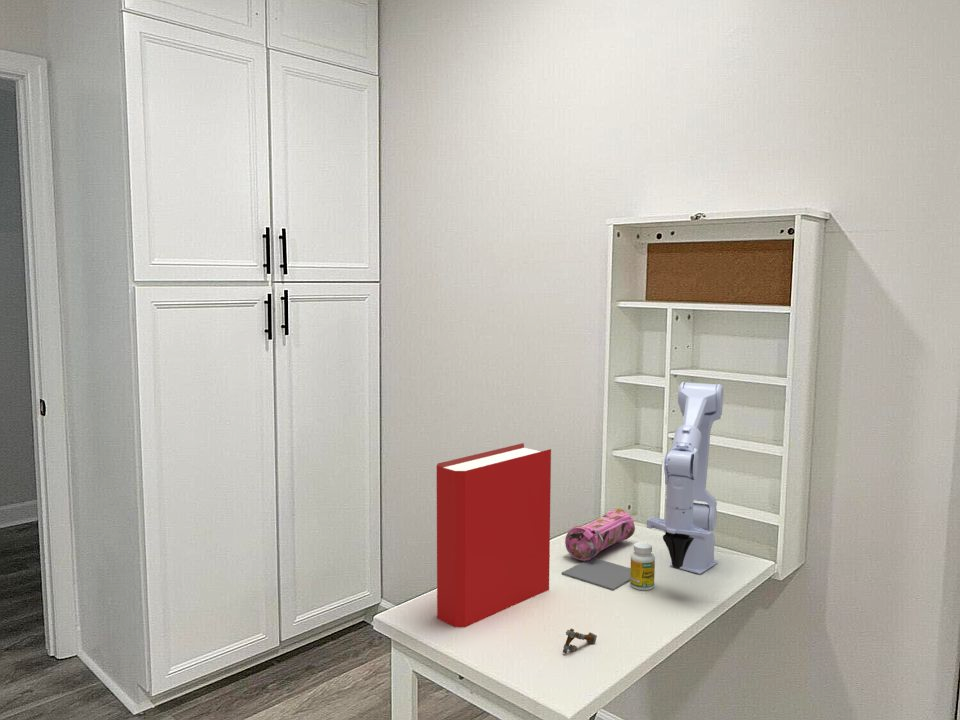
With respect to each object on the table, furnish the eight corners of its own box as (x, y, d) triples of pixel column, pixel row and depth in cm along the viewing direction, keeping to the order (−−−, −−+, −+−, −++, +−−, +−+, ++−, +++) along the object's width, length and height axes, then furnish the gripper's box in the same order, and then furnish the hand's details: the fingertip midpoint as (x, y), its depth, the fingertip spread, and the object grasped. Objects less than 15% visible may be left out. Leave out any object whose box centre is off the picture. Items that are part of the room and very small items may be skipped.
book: (522, 579, 182) (523, 443, 178) (549, 589, 177) (551, 448, 173) (433, 616, 163) (432, 464, 159) (460, 629, 158) (460, 472, 154)
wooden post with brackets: (557, 650, 147) (564, 626, 148) (583, 654, 153) (590, 631, 153) (564, 654, 146) (571, 629, 147) (590, 658, 151) (597, 634, 152)
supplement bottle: (642, 579, 182) (643, 539, 181) (659, 587, 178) (660, 546, 177) (624, 584, 179) (625, 543, 178) (641, 593, 175) (643, 551, 174)
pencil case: (595, 566, 189) (596, 530, 188) (562, 557, 194) (563, 522, 194) (637, 543, 206) (638, 510, 205) (605, 536, 211) (606, 503, 210)
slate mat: (592, 558, 195) (592, 557, 195) (642, 573, 186) (642, 571, 186) (561, 574, 185) (561, 572, 185) (613, 590, 176) (613, 588, 176)
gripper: (640, 502, 172) (638, 563, 174) (702, 517, 163) (700, 580, 165) (656, 495, 178) (654, 554, 179) (717, 509, 168) (715, 570, 170)
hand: (677, 566), depth 172 cm, fingers closed
